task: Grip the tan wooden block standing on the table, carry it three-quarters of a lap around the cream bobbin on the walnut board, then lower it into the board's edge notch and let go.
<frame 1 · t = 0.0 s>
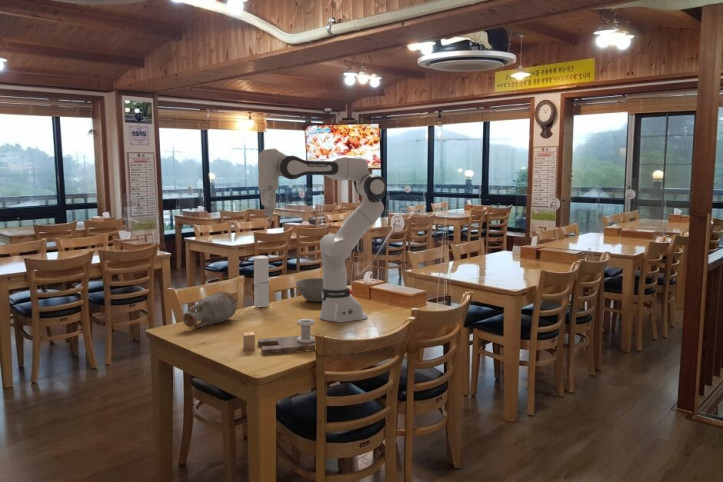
hand: (268, 216, 256), 48 cm above the table, fingers open, 8 cm apart
bobbin: (305, 345, 230), resting on notched board
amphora: (213, 323, 260), on the table
notched board: (290, 346, 228), on the table
tan wooden block: (249, 348, 225), on the table
cylindrical container: (261, 306, 291), on the table
ceramic bowl: (317, 301, 305), on the table
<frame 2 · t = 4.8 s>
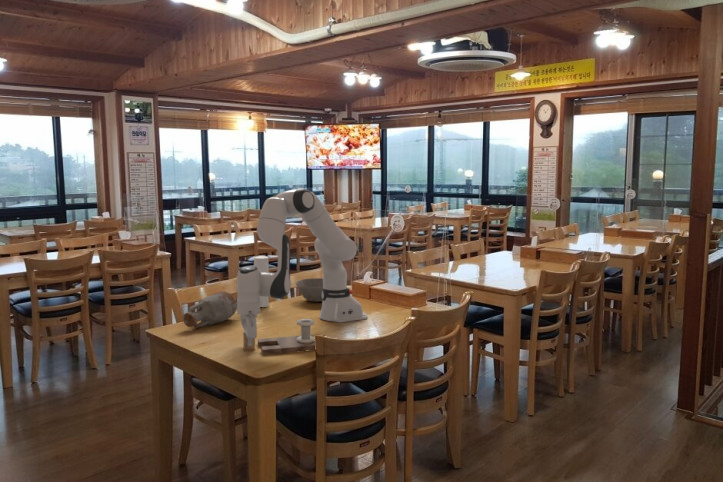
hand: (249, 343, 224), 2 cm above the table, fingers closed on tan wooden block, 4 cm apart
tan wooden block: (249, 348, 225), on the table, touching gripper
everything else where it was.
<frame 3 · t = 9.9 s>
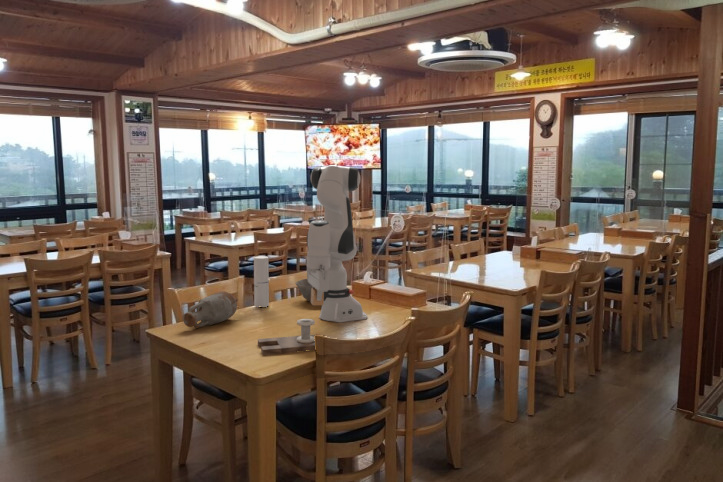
hand: (317, 298, 221), 20 cm above the table, fingers closed on tan wooden block, 4 cm apart
tan wooden block: (317, 304, 222), point 18 cm above the table, touching gripper
everything else where it was.
when the fingers open (4 cm above the table, at t = 14.9 s): tan wooden block drops 2 cm, on the table.
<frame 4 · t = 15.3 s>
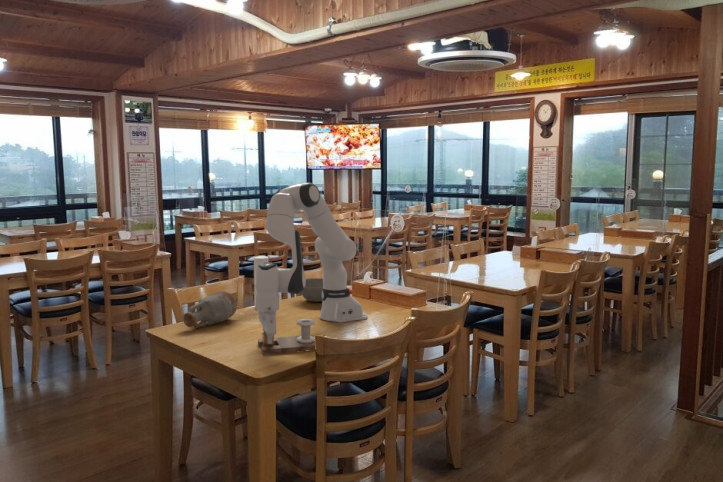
hand: (267, 339, 225), 4 cm above the table, fingers open, 8 cm apart
tan wooden block: (268, 348, 225), on the table
everything else where it was.
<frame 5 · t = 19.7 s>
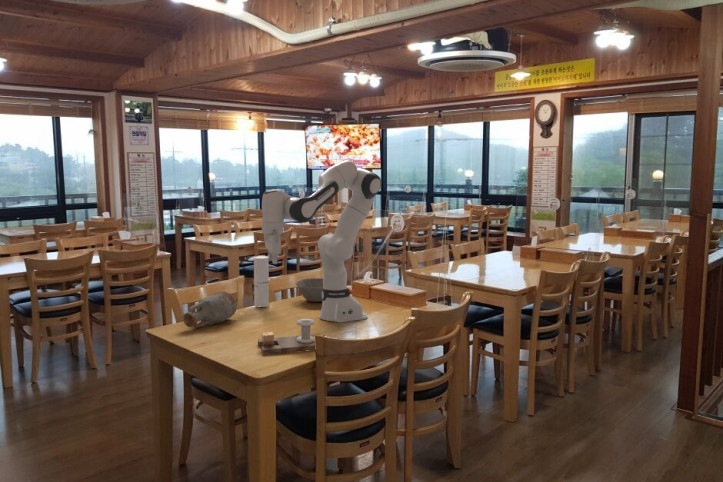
hand: (272, 261, 239), 31 cm above the table, fingers open, 8 cm apart
nothing on the table moved.
at the end: tan wooden block 0.0 cm from the target spot on the notched board, point 0.0 cm above the notched board's base; the gripper is holding nothing; tan wooden block tilted 0° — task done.
